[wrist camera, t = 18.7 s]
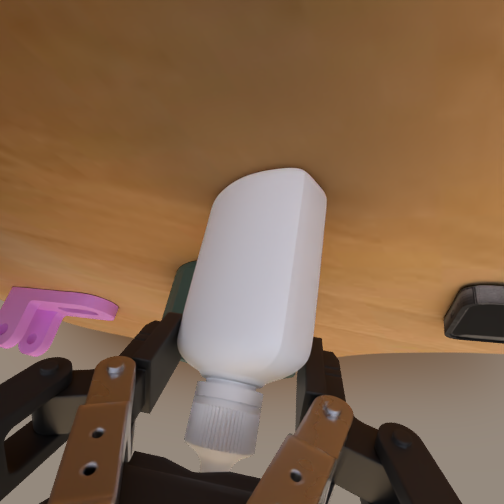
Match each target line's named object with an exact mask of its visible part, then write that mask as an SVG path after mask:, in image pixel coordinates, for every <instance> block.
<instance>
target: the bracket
mask: <svg viewBox="0 0 504 504" xmlns="http://www.w3.org/2000/svg"><path fill="white" fill-rule="evenodd" d="M117 311H118V306H117V305H116V304H114V303H112V302H110V301H108V300H106V299H103V298H100V297H97V296H93V295H89V294H84V293H76V292H65V291H54V290H43V289H32V288H21V287H12V289H11V291H10V293H9V295H8V296H7V298H6V300H5V302H4V304H3V306H2V308H1V310H0V347H2V348H11V347H13V346H15V345H16V344H18V343H19V345H18V347H19V350H20V351H21V353H23V354H26V355H30V356H34V357H36V356H40V355H42V354H43V353H45V352H46V351H47V350H48V349H49V347H50V345H51V344H52V341H53V339H54V337H55V335H56V332H57V330H58V328H59V326H60V323H61V321H62V319H63V318H64V317H65V316H75V317H83V318H91V319H100V320H114V319H115V316H116V313H117Z"/></svg>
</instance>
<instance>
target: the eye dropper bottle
mask: <svg viewBox="0 0 504 504" xmlns="http://www.w3.org/2000/svg"><path fill="white" fill-rule="evenodd" d="M326 205H327V198H326V195H325V192H324V191H323V190H322V188H321V187H320V186H319V185H318V184H317V183H316V181H315V180H314V179H313V178H312V177H311V176H310V175H309V174H308V173H307V172H305V171H304V170H302V169H298V168H280V169H272V170H266V171H261V172H257V173H254V174H250V175H248V176H245V177H243V178H240V179H238V180H236V181H235V182H233V183H232V184H230V185H229V186H227V187H226V188H225V189H224V190H223V191H222V192H221V193H220V194H219V195H218V196H217V198H216V199H215V201H214V203H213V206H212V209H211V213H210V216H209V220H208V223H207V227H206V231H205V234H204V238H203V241H202V245H201V249H200V252H199V256H198V260H197V263H196V267H195V271H194V274H193V278H192V282H191V285H190V289H189V293H188V296H187V300H186V304H185V308H184V312H183V316H182V320H181V324H180V328H179V332H178V338H177V346H178V350H179V352H180V354H181V356H182V357H183V358H184V360H185V361H186V362H187V363H189V364H190V365H191V366H193V367H194V368H195V369H197V370H199V371H200V374H201V375H202V377H204V378H206V379H207V380H206V382H203V381H198V382H197V387H196V391H195V396H194V399H193V404H192V408H191V413H190V417H189V421H188V425H187V429H186V434H185V438H184V440H185V442H186V443H187V444H188V445H189V446H190V447H191V448H192V449H193V450H194V451H195V452H196V453H197V455H198V457H199V460H200V472H230V470H231V468H232V466H233V465H234V464H235V463H236V462H237V461H239V460H242V459H244V458H247V457H249V456H252V455H253V454H254V453H255V446H256V439H257V433H258V426H259V419H260V413H261V406H262V399H263V394H261V393H258V392H255V391H256V388H262V387H263V386H264V385H265V384H267V383H270V382H273V381H276V380H279V379H282V378H285V377H287V376H290V375H291V374H293V373H295V372H296V371H298V370H299V369H300V368H302V367H303V366H304V365H305V363H306V362H307V361H308V358H309V356H310V352H311V348H312V342H313V333H314V325H315V317H316V307H317V297H318V288H319V278H320V268H321V258H322V247H323V237H324V226H325V216H326ZM259 408H260V409H259Z"/></svg>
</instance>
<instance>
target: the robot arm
mask: <svg viewBox="0 0 504 504" xmlns="http://www.w3.org/2000/svg"><path fill="white" fill-rule="evenodd" d="M182 316H183V314H180V313H174V312H168V313H167V314H166V315H165V317H164V318H163V319H162V320H161V321H153V322H151V323H149V324H147V325H145V326H144V328H143V329H142V330H141V331H140V332H139V334H138V335H137V336H136V337H135V339H133V340H132V341H131V343H130V344H129V345H128V346H127V347H126V348H125V350H124V351H123V352H122V353H121V354H120V355H119V356H114V357H110V358H107V359H105V360H103V361H101V362H100V363H99V364H98V365H97V366H96V368H95V369H92V370H72V363H71V361H69V360H68V359H65V358H61V357H55V358H48V359H44V360H41V361H39V362H37V363H35V364H33V365H32V366H30V367H28V368H27V369H25V370H24V371H22V372H20V373H18V374H17V375H15V376H14V377H12V378H10V379H8V380H7V381H6V382H4V383H2V384H0V501H1V500H2V499H3V498H4V497H5V496H6V495H8V494H9V493H10V492H11V491H12V490H13V489H14V488H15V487H16V486H18V485H19V483H21V482H22V481H23V480H24V479H25V478H26V477H27V476H28V475H30V474H31V473H32V472H33V471H34V470H35V469H36V468H37V467H38V466H39V465H40V464H42V463H43V462H44V461H45V460H46V459H47V458H48V457H49V456H50V455H52V454H53V453H54V452H55V451H56V450H57V449H58V448H59V447H60V446H61V445H63V444H64V443H65V442H66V441H67V440H68V441H67V444H66V447H65V450H64V453H63V457H62V460H61V463H60V466H59V469H58V472H57V475H56V479H55V482H54V485H53V488H52V491H51V494H50V498H48V499H46V500H44V501H43V502H41V503H39V504H329V502H330V499H331V496H332V493H333V491H334V488H335V485H338V486H340V487H342V488H344V489H345V490H347V491H349V492H351V493H353V494H355V495H357V496H358V497H360V500H361V504H462V503H461V501H460V500H459V498H458V497H457V495H456V493H455V492H454V490H453V489H452V487H451V485H450V484H449V482H448V481H447V479H446V478H445V476H444V475H443V473H442V472H441V470H440V469H439V467H438V465H437V464H436V462H435V460H434V459H433V457H432V456H431V454H430V453H429V451H428V450H427V448H426V446H425V445H424V443H423V442H422V440H421V439H420V437H419V436H417V434H415V433H414V432H413V431H412V430H410V429H408V428H407V427H405V426H403V425H400V424H397V423H385V424H382V425H381V426H380V427H379V430H378V429H375V428H373V427H371V426H369V425H366V424H364V423H362V422H361V421H359V420H358V419H357V418H355V417H354V415H353V411H352V409H351V408H350V406H349V405H348V404H347V403H346V400H345V394H344V388H343V382H342V378H341V371H340V364H339V360H338V359H337V357H336V356H335V355H334V353H333V352H329V351H323V347H322V339H321V338H317V337H313V342H312V348H311V352H310V356H309V358H308V361H307V362H306V363H305V365H304V366H303V367H302V368H300V369H299V370H298V373H297V393H296V394H297V395H296V431H295V434H294V435H292V434H288V435H287V437H286V438H285V440H284V442H283V443H282V445H281V447H280V449H279V450H278V452H277V453H276V455H275V457H274V458H273V460H272V462H271V463H270V465H269V467H268V468H267V470H266V472H265V473H264V475H263V477H262V478H261V479H260V478H256V477H251V476H246V475H242V474H237V473H233V472H199V473H196V472H191V471H190V470H188V469H186V468H184V467H182V466H180V465H178V464H176V463H174V462H172V461H170V460H168V459H166V458H164V457H160V456H155V455H150V454H146V453H141V452H137V451H134V453H133V446H134V437H135V427H136V418H137V416H138V414H139V413H140V412H144V413H150V412H151V411H152V409H153V407H154V405H155V403H156V402H157V400H158V398H159V396H160V395H161V393H162V391H163V389H164V388H165V386H166V384H167V382H168V381H169V379H170V377H171V375H172V373H173V372H174V370H175V368H176V367H177V365H178V363H179V361H180V360H181V357H182V356H181V354H180V352H179V350H178V346H177V338H178V332H179V328H180V324H181V320H182ZM30 414H32V421H30V422H29V423H28V424H26V425H25V426H24V427H23V428H21V429H20V430H18V431H17V432H16V433H15V434H13V435H12V436H11V437H9V438H8V439H7V440H5V437H6V435H7V434H8V432H9V431H10V430H11V429H12V428H13V427H14V426H15V425H17V424H18V423H20V422H21V421H22V420H24V419H25V418H26V417H28V416H29V415H30ZM4 440H5V441H4Z"/></svg>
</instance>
